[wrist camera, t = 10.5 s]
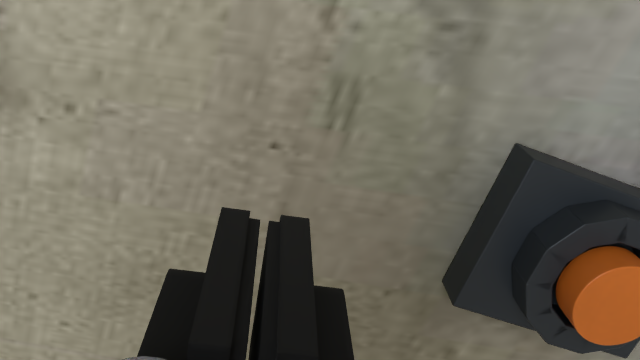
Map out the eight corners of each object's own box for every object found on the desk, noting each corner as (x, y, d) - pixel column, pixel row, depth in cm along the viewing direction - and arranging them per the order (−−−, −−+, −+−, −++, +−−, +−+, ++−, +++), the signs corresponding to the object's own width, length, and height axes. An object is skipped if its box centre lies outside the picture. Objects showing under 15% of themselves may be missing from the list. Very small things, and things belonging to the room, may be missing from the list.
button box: (690, 207, 29) (749, 247, 25) (605, 332, 32) (647, 384, 28) (515, 142, 27) (551, 175, 23) (441, 280, 30) (463, 329, 26)
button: (660, 260, 26) (686, 282, 24) (612, 330, 27) (633, 356, 25) (584, 234, 25) (604, 254, 23) (538, 307, 26) (555, 332, 25)
